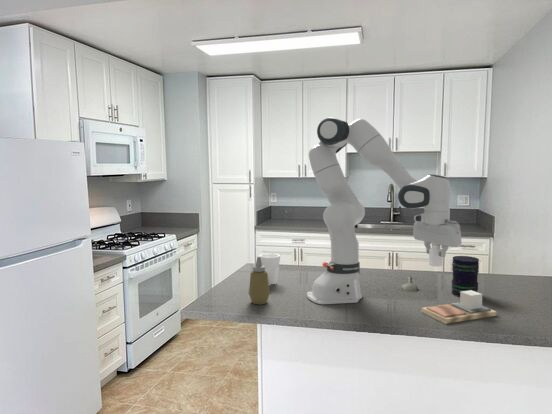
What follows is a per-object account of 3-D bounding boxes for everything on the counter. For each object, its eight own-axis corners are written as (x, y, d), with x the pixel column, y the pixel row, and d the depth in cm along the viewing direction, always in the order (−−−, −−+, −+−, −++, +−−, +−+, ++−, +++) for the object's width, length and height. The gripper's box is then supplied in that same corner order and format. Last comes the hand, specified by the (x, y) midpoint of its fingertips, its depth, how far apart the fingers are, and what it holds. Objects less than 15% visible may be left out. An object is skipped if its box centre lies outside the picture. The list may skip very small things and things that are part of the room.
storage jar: (447, 294, 164) (448, 258, 163) (456, 289, 171) (457, 254, 170) (473, 299, 157) (474, 262, 156) (481, 293, 164) (482, 258, 163)
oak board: (445, 323, 133) (445, 317, 133) (421, 311, 144) (421, 306, 144) (496, 315, 140) (496, 310, 140) (469, 304, 151) (469, 299, 151)
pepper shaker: (432, 266, 148) (433, 241, 147) (428, 264, 152) (428, 239, 151) (443, 266, 148) (443, 241, 147) (438, 264, 152) (439, 239, 151)
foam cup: (284, 282, 184) (283, 254, 183) (273, 287, 176) (272, 258, 175) (266, 279, 189) (266, 252, 188) (255, 284, 181) (255, 256, 180)
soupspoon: (401, 293, 170) (417, 295, 168) (401, 285, 169) (418, 287, 167) (402, 278, 190) (417, 279, 188) (403, 271, 190) (417, 273, 188)
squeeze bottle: (254, 307, 151) (253, 260, 149) (245, 301, 158) (245, 256, 156) (273, 303, 154) (272, 257, 153) (264, 298, 162) (263, 254, 160)
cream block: (470, 309, 141) (471, 295, 140) (459, 305, 145) (460, 291, 145) (481, 307, 142) (482, 294, 142) (470, 303, 147) (471, 290, 146)
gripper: (466, 221, 140) (465, 259, 142) (423, 215, 159) (422, 249, 160) (453, 222, 138) (451, 261, 139) (410, 216, 156) (410, 251, 158)
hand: (435, 255), depth 150 cm, fingers closed on pepper shaker, 5 cm apart
